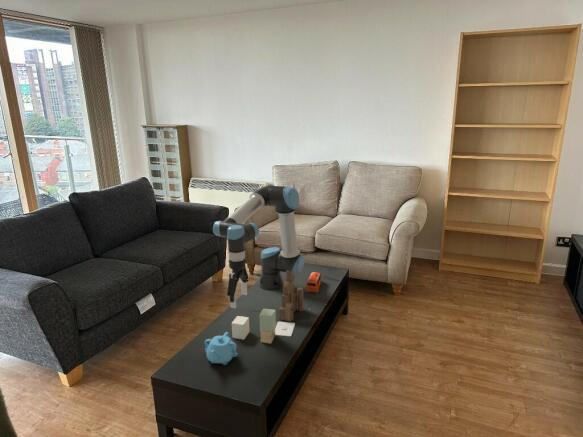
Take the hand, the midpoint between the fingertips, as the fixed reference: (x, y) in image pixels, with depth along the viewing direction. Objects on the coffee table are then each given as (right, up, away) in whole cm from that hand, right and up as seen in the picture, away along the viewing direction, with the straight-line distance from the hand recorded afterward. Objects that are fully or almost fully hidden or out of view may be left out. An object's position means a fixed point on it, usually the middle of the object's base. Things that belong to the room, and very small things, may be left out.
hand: (238, 300), depth 192 cm
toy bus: (+39, -3, +55) cm, 67 cm away
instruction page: (+21, -16, +10) cm, 28 cm away
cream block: (0, -18, +5) cm, 18 cm away
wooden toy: (+25, -12, +24) cm, 37 cm away
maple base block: (+14, -18, +2) cm, 23 cm away
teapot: (-6, -23, -14) cm, 28 cm away
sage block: (+14, -13, 0) cm, 19 cm away
